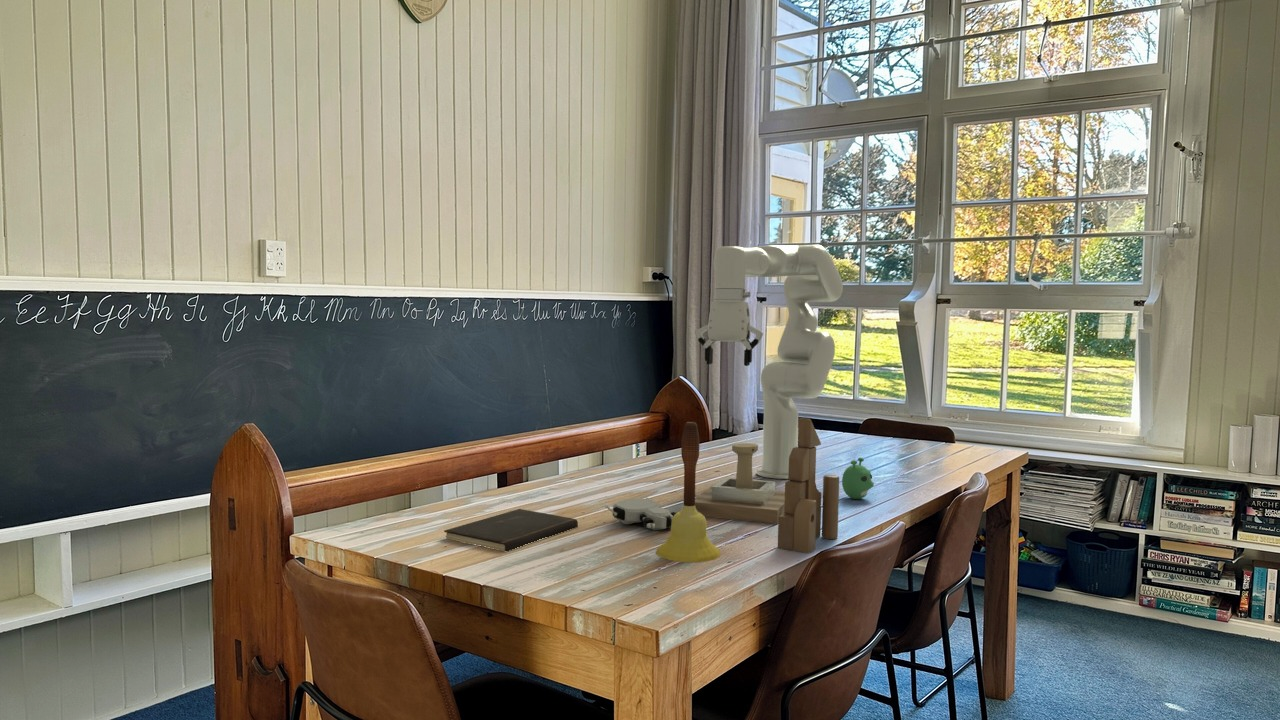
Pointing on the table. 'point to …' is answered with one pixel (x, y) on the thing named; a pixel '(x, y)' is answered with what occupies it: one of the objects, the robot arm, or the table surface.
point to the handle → (744, 464)
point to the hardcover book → (511, 529)
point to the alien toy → (857, 480)
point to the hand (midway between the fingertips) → (728, 364)
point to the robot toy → (642, 513)
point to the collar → (743, 491)
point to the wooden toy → (807, 497)
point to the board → (741, 508)
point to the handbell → (689, 512)
